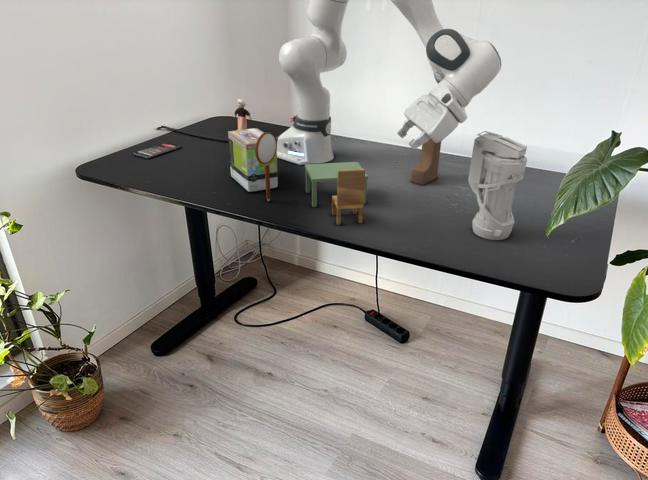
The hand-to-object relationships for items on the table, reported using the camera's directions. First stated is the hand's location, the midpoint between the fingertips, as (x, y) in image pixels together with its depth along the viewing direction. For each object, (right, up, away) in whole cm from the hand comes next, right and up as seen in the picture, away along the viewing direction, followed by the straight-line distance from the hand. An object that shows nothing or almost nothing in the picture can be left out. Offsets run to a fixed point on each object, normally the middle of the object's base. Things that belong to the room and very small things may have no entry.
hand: (405, 141), depth 136 cm
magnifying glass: (-37, -13, +19) cm, 44 cm away
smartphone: (-81, +9, +52) cm, 97 cm away
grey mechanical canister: (+23, -22, +8) cm, 32 cm away
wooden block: (+10, -3, +38) cm, 39 cm away
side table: (-18, -11, +23) cm, 31 cm away
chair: (-15, -18, +11) cm, 26 cm away
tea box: (-44, -5, +31) cm, 54 cm away
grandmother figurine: (-55, +22, +75) cm, 96 cm away
